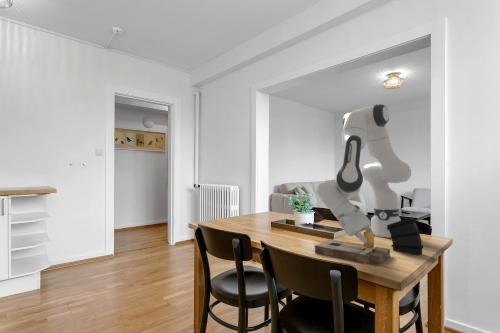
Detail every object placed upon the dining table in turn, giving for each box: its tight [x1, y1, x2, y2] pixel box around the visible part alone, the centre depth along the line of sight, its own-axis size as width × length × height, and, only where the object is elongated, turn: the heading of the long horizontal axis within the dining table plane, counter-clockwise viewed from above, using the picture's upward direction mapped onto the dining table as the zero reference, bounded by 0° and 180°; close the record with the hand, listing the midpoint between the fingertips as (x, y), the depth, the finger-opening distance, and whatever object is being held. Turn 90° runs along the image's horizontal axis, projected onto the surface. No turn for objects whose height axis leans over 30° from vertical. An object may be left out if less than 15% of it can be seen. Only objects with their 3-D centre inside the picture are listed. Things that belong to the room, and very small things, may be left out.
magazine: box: [387, 216, 424, 256], centre depth 119 cm, size 4×13×15 cm, turn 42°
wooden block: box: [363, 231, 375, 252], centre depth 111 cm, size 4×4×10 cm
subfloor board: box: [314, 238, 391, 266], centre depth 116 cm, size 14×26×3 cm, turn 50°
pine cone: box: [313, 209, 325, 224], centre depth 178 cm, size 18×10×10 cm, turn 51°
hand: (370, 239), depth 111 cm, fingers open, 8 cm apart
